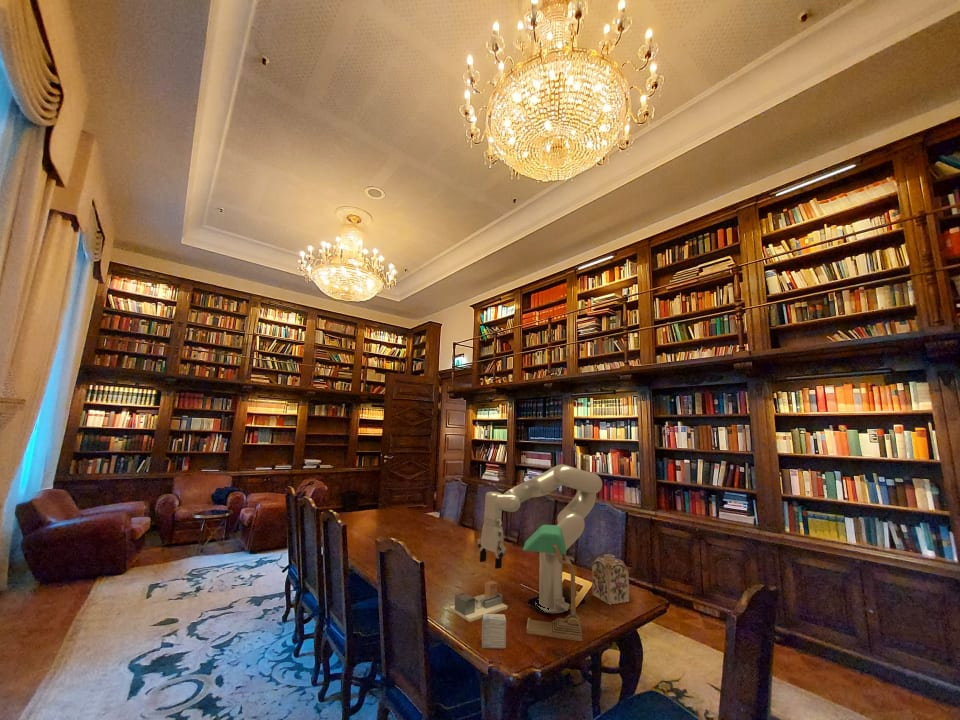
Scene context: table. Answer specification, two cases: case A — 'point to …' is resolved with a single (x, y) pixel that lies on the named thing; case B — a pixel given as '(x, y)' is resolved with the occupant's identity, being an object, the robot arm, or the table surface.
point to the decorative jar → (610, 580)
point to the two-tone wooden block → (486, 594)
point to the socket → (464, 604)
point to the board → (484, 609)
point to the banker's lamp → (570, 628)
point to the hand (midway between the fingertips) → (490, 564)
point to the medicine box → (493, 631)
